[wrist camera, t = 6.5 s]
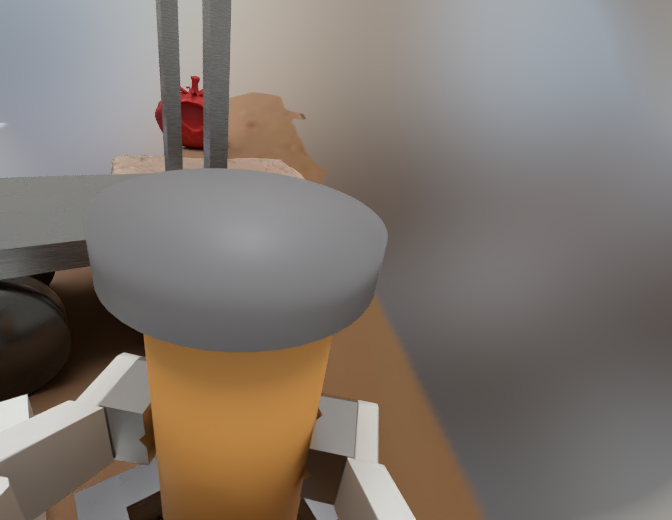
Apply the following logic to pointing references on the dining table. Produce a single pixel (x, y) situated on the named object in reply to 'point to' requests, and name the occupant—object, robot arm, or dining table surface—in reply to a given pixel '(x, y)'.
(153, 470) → the socket
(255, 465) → the pin
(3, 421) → the tray
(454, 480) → the dining table surface
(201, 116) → the red hollow tomato
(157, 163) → the brick
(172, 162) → the trolley
